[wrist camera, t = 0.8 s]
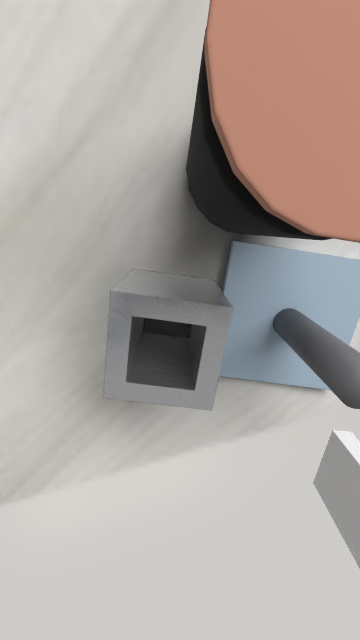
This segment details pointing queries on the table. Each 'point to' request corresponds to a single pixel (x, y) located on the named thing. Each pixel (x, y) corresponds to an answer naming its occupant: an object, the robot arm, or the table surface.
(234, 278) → the blue base with peg
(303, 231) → the coffee jar
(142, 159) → the table surface
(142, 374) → the square metal tube
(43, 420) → the table surface
